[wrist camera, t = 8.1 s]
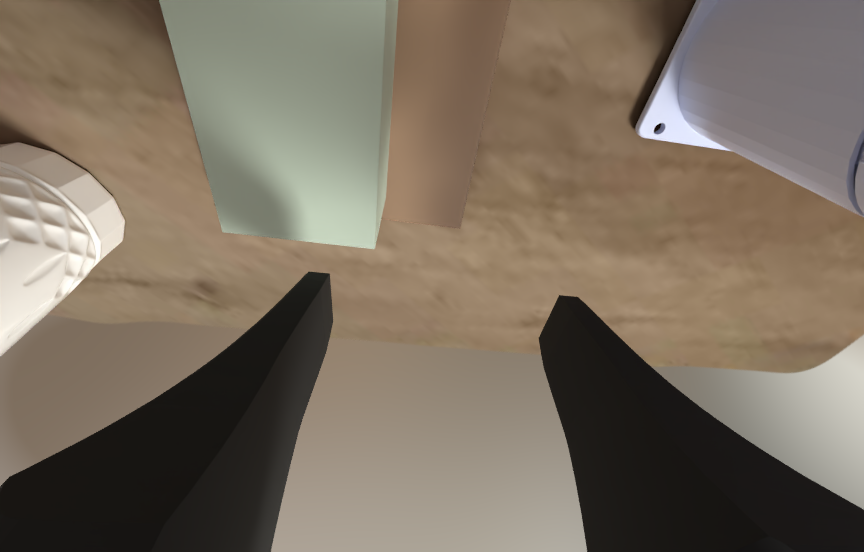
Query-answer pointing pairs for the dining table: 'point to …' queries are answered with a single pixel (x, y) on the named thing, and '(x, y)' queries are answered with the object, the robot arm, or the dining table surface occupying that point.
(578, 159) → the dining table surface
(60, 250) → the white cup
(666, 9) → the dining table surface
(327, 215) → the pale green rectangular block
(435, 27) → the peg base
